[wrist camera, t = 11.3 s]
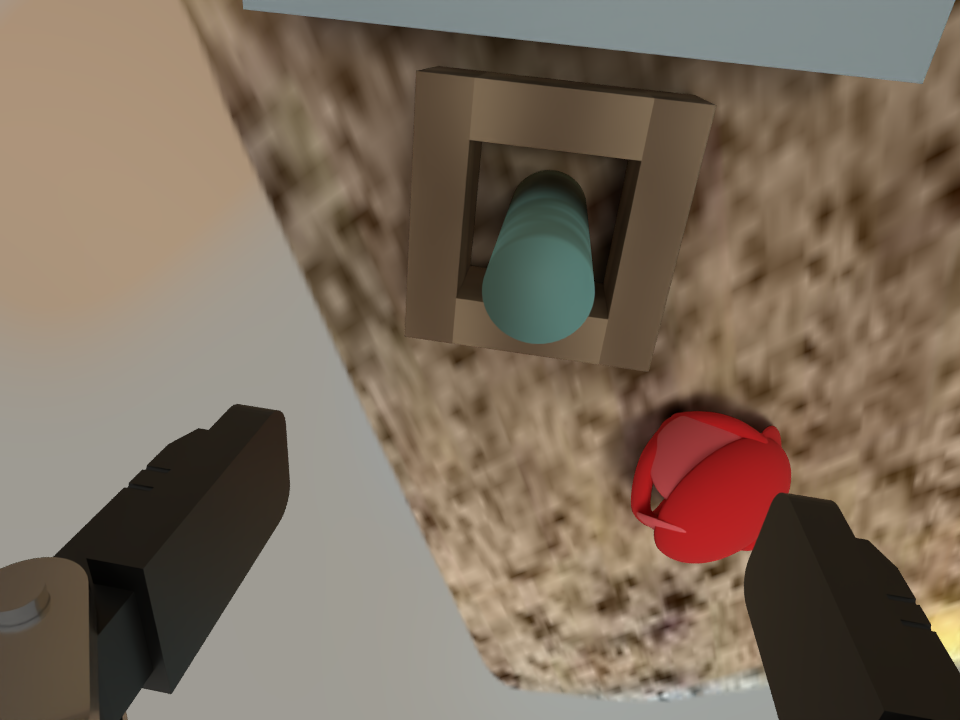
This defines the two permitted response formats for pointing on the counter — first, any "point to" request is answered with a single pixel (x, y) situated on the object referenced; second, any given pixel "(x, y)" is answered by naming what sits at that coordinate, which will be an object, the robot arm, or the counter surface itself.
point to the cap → (708, 484)
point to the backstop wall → (684, 28)
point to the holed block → (562, 127)
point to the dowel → (542, 262)
